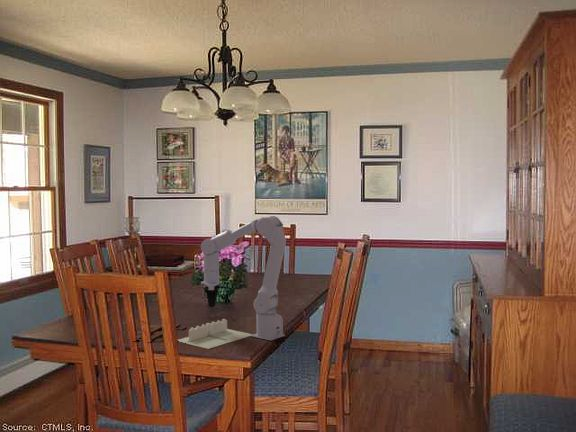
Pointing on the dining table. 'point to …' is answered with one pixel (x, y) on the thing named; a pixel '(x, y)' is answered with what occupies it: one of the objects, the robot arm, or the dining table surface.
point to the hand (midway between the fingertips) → (212, 305)
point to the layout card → (216, 339)
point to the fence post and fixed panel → (200, 332)
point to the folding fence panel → (218, 326)
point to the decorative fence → (159, 334)
